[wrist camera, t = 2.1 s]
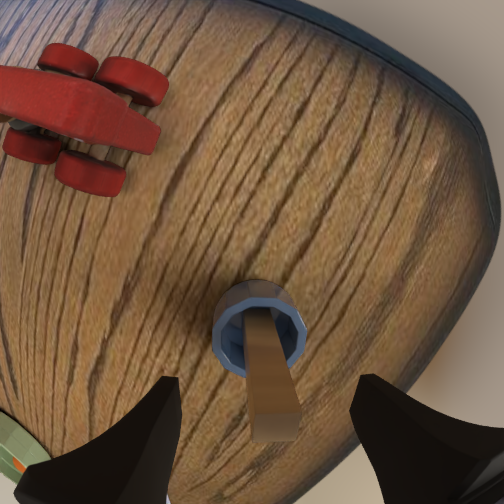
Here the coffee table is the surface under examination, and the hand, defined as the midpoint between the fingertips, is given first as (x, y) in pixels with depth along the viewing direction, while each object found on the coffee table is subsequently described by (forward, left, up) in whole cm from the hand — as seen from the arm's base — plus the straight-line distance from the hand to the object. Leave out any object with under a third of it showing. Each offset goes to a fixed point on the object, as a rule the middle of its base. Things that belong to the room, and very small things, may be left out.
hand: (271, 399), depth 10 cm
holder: (0, 0, -8) cm, 8 cm away
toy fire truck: (+12, +11, -8) cm, 18 cm away
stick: (0, 0, -7) cm, 7 cm away
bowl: (-21, +28, -8) cm, 36 cm away
